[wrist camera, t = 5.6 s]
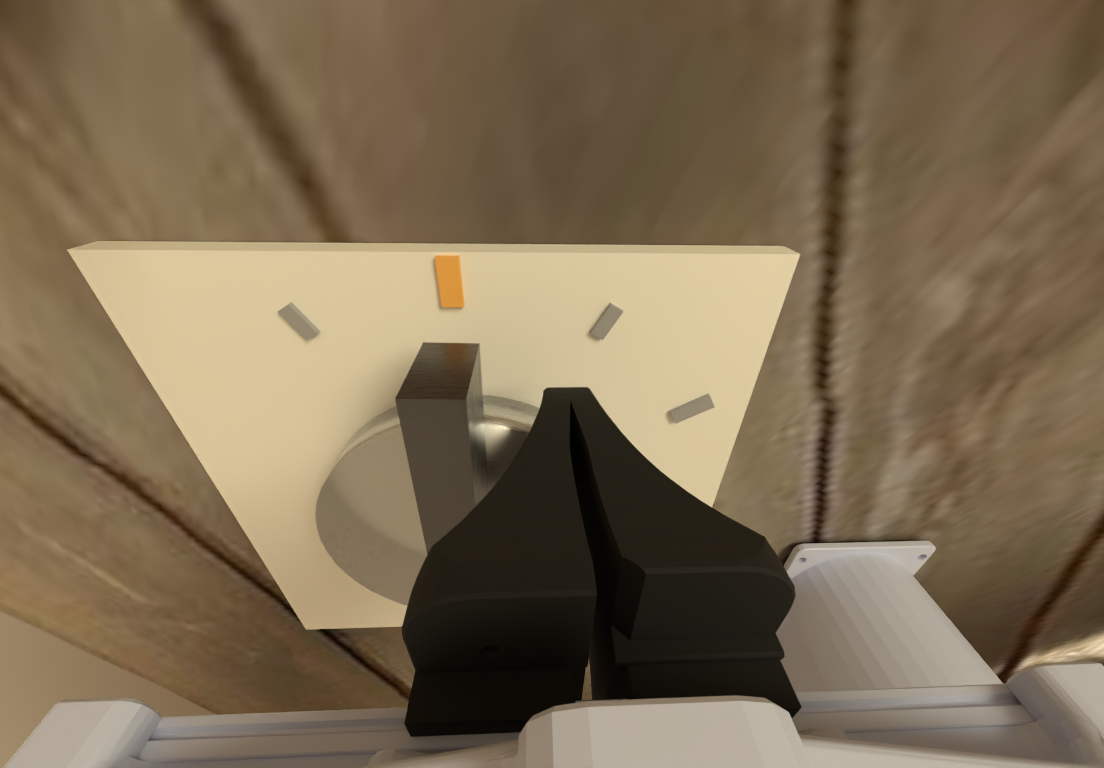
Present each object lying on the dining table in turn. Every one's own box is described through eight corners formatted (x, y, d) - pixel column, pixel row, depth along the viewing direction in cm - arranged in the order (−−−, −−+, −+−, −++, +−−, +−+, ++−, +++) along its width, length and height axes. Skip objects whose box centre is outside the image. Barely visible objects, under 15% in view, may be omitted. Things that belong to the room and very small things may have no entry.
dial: (596, 579, 22) (610, 679, 18) (367, 582, 21) (329, 686, 17) (642, 321, 13) (687, 402, 10) (269, 312, 13) (154, 395, 9)
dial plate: (668, 601, 26) (674, 621, 25) (313, 612, 25) (304, 633, 24) (783, 246, 14) (803, 256, 13) (98, 241, 13) (60, 251, 12)
